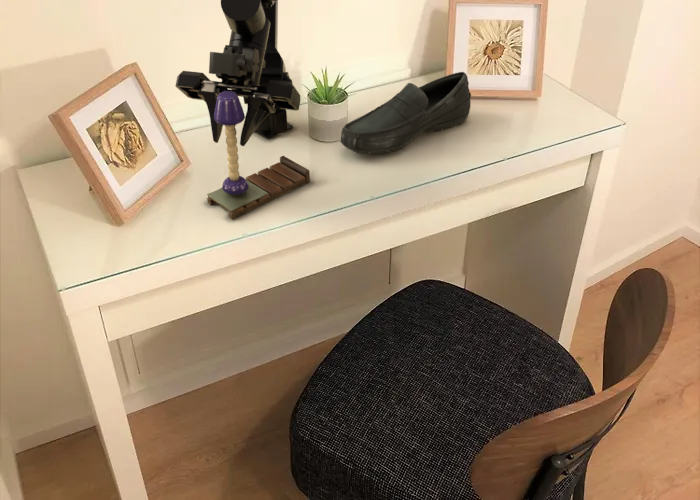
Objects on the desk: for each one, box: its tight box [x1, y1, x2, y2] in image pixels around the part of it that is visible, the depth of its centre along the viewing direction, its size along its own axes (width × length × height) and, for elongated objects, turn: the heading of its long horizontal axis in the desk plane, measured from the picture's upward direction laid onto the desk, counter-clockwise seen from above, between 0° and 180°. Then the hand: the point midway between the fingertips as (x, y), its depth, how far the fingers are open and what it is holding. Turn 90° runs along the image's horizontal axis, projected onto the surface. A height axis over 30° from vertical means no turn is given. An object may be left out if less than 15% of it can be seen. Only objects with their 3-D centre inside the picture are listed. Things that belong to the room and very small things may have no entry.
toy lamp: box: [214, 91, 249, 195], centre depth 118 cm, size 5×5×17 cm
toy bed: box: [206, 155, 311, 221], centre depth 126 cm, size 16×7×2 cm, turn 134°
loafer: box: [340, 71, 472, 155], centre depth 140 cm, size 10×29×10 cm, turn 132°
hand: (228, 143), depth 117 cm, fingers closed on toy lamp, 4 cm apart
